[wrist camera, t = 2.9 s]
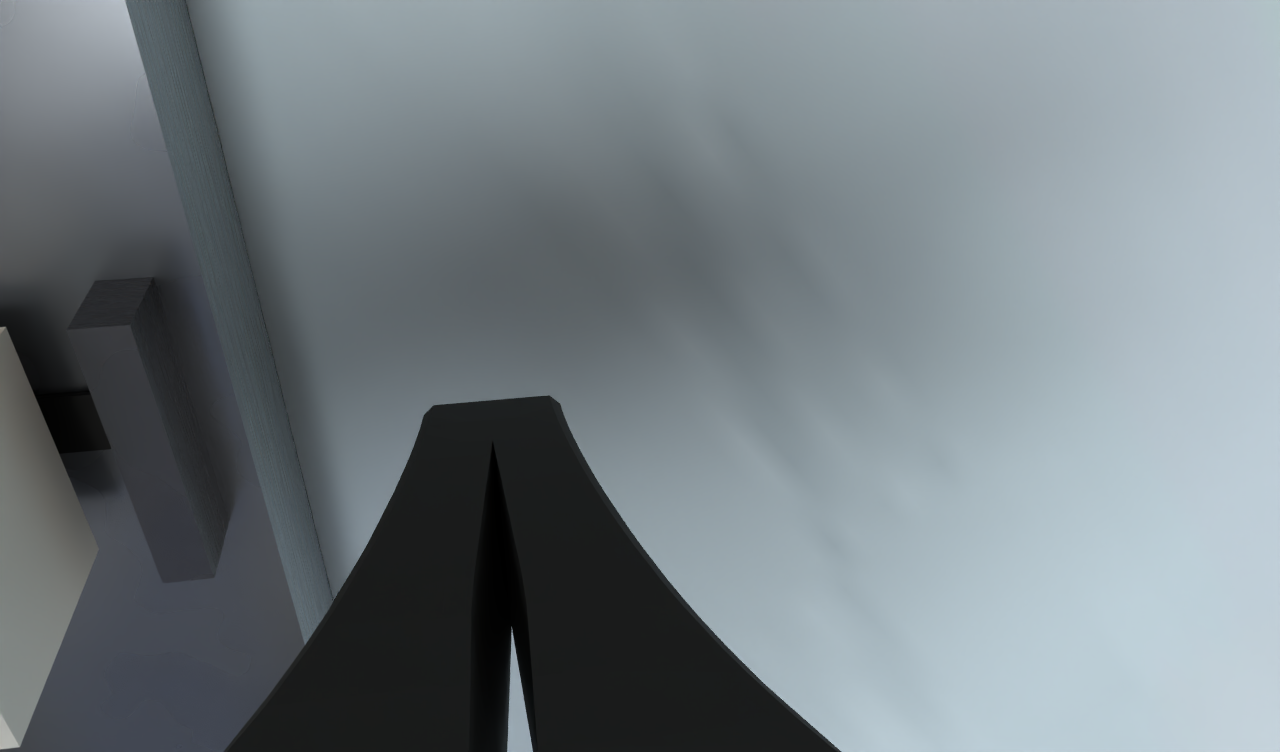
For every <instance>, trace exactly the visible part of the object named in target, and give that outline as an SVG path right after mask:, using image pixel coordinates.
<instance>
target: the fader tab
mask: <svg viewBox="0 0 1280 752" xmlns="http://www.w3.org/2000/svg"><path fill="white" fill-rule="evenodd" d="M98 550H99V548H98V546H97V543H96V541H95V538H94V536H93V534H92V531H91V529H90V527H89V524H88V522H87V519H86V517H85V515H84V512H83V510H82V507H81V505H80V503H79V500H78V498H77V496H76V493H75V491H74V488H73V486H72V484H71V481H70V479H69V476H68V474H67V472H66V469H65V467H64V464H63V462H62V460H61V457H60V455H59V453H58V450H57V448H56V445H55V443H54V441H53V438H52V436H51V433H50V431H49V429H48V426H47V424H46V421H45V419H44V417H43V414H42V412H41V410H40V407H39V405H38V402H37V400H36V398H35V395H34V393H33V390H32V388H31V386H30V383H29V381H28V379H27V376H26V374H25V371H24V369H23V367H22V364H21V362H20V359H19V357H18V355H17V352H16V350H15V347H14V345H13V343H12V340H11V338H10V336H9V333H8V331H7V328H6V327H0V749H8V748H16V747H20V745H21V743H22V740H23V738H24V735H25V733H26V730H27V728H28V725H29V723H30V720H31V718H32V715H33V713H34V710H35V708H36V705H37V703H38V700H39V698H40V695H41V693H42V690H43V688H44V685H45V683H46V680H47V678H48V675H49V673H50V670H51V668H52V665H53V663H54V660H55V658H56V655H57V653H58V650H59V648H60V645H61V643H62V640H63V638H64V635H65V633H66V630H67V628H68V625H69V623H70V620H71V618H72V615H73V613H74V610H75V608H76V605H77V603H78V600H79V598H80V595H81V593H82V590H83V588H84V585H85V583H86V580H87V578H88V575H89V573H90V570H91V568H92V565H93V563H94V560H95V558H96V555H97V553H98Z"/></svg>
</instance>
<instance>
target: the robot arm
mask: <svg viewBox="0 0 1280 752" xmlns="http://www.w3.org/2000/svg"><path fill="white" fill-rule="evenodd" d="M511 629H512V630H513V636H514V642H515V648H516V654H517V660H518V665H519V671H520V677H521V683H522V689H523V695H524V701H525V707H526V712H527V718H528V724H529V730H530V736H531V742H532V748H533V752H841V751H840V750H839V749H838V748H836V747H835V746H834V745H833V744H832V743H831V742H830V741H828V740H827V739H826V738H825V737H824V736H823V735H822V734H820V733H819V732H818V731H817V730H816V729H815V728H814V727H813V726H811V725H810V724H809V723H808V722H807V721H806V720H805V719H803V718H802V717H801V716H800V715H799V714H798V713H797V712H795V711H794V710H793V709H792V708H791V707H790V706H789V705H787V704H786V703H785V702H784V701H783V700H782V699H781V698H780V697H778V696H777V695H776V694H775V693H774V692H773V691H772V690H770V689H769V688H768V687H767V686H766V685H765V684H764V683H763V682H762V681H761V680H760V679H759V678H758V677H757V676H756V675H755V674H754V673H753V672H752V671H751V670H750V669H749V668H748V667H747V666H746V665H745V664H744V663H743V662H742V661H741V660H740V659H739V658H738V657H737V656H736V655H735V654H734V653H733V652H732V651H731V650H730V649H729V648H728V647H727V646H726V645H725V644H724V643H723V642H722V641H721V640H720V639H719V638H718V637H717V636H716V635H715V633H714V632H713V631H712V630H711V629H710V628H709V627H708V626H707V625H706V624H705V623H704V622H703V621H702V619H701V618H700V617H699V616H698V615H697V614H696V613H695V612H694V610H693V609H692V608H691V607H690V606H689V605H688V604H687V602H686V601H685V600H684V599H683V598H682V597H681V595H680V594H679V593H678V592H677V591H676V589H675V588H674V587H673V586H672V585H671V583H670V582H669V581H668V580H667V578H666V577H665V576H664V575H663V573H662V572H661V571H660V569H659V568H658V567H657V566H656V564H655V563H654V562H653V560H652V559H651V558H650V557H649V555H648V554H647V553H646V551H645V550H644V549H643V547H642V546H641V545H640V543H639V542H638V541H637V539H636V538H635V536H634V535H633V534H632V532H631V531H630V529H629V528H628V527H627V525H626V524H625V522H624V521H623V519H622V518H621V516H620V515H619V513H618V512H617V510H616V509H615V507H614V506H613V504H612V503H611V501H610V500H609V498H608V497H607V495H606V494H605V492H604V491H603V489H602V487H601V486H600V484H599V482H598V481H597V479H596V478H595V476H594V474H593V473H592V471H591V469H590V467H589V465H588V464H587V462H586V460H585V458H584V457H583V455H582V453H581V451H580V449H579V447H578V445H577V443H576V441H575V439H574V438H573V435H572V433H571V431H570V429H569V427H568V424H567V422H566V420H565V417H564V415H563V412H562V409H561V405H560V403H558V402H557V401H556V400H555V399H553V398H552V397H551V396H538V397H526V398H514V399H503V400H491V401H479V402H468V403H456V404H444V405H434V406H433V407H432V408H431V409H430V410H429V411H428V412H427V413H426V414H425V415H424V417H423V420H422V424H421V427H420V430H419V433H418V436H417V439H416V442H415V444H414V447H413V450H412V452H411V455H410V457H409V460H408V462H407V464H406V467H405V469H404V471H403V473H402V476H401V478H400V480H399V482H398V484H397V487H396V489H395V491H394V493H393V495H392V497H391V499H390V501H389V503H388V505H387V507H386V509H385V511H384V513H383V515H382V517H381V519H380V521H379V523H378V525H377V527H376V529H375V530H374V532H373V534H372V536H371V538H370V540H369V542H368V544H367V546H366V548H365V549H364V551H363V553H362V555H361V556H360V558H359V560H358V561H357V563H356V565H355V566H354V568H353V570H352V571H351V573H350V575H349V576H348V578H347V580H346V581H345V583H344V585H343V586H342V588H341V590H340V591H339V593H338V595H337V596H336V598H335V600H334V601H333V603H332V605H331V606H330V608H329V610H328V611H327V613H326V614H325V616H324V617H323V619H322V620H321V622H320V623H319V625H318V626H317V628H316V629H315V631H314V632H313V634H312V635H311V637H310V638H309V640H308V641H307V643H306V644H305V646H304V647H303V649H302V650H301V652H300V653H299V654H298V656H297V657H296V659H295V660H294V661H293V663H292V664H291V665H290V667H289V668H288V670H287V671H286V672H285V674H284V675H283V676H282V678H281V679H280V681H279V682H278V683H277V685H276V686H275V687H274V689H273V690H272V691H271V693H270V694H269V695H268V697H267V698H266V699H265V701H264V702H263V703H262V704H261V706H260V707H259V708H258V709H257V710H256V712H255V713H254V714H253V715H252V717H251V718H250V719H249V720H248V722H247V723H246V724H245V725H244V727H243V728H242V729H241V730H240V732H239V733H238V734H237V735H236V737H235V738H234V739H233V740H232V742H231V743H230V744H229V745H228V746H227V748H226V749H225V750H224V751H223V752H507V741H508V714H509V687H510V659H511Z"/></svg>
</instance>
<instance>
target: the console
mask: <svg viewBox="0 0 1280 752" xmlns="http://www.w3.org/2000/svg"><path fill="white" fill-rule="evenodd" d="M0 327H6V328H7V331H8V333H9V336H10V338H11V340H12V343H13V345H14V347H15V350H16V352H17V355H18V357H19V359H20V362H21V364H22V367H23V369H24V371H25V374H26V376H27V379H28V381H29V383H30V386H31V388H32V390H33V393H34V395H35V398H36V400H37V402H38V405H39V407H40V410H41V412H42V414H43V417H44V419H45V421H46V424H47V426H48V429H49V431H50V433H51V436H52V438H53V441H54V443H55V445H56V448H57V450H58V453H59V455H60V457H61V460H62V462H63V464H64V467H65V469H66V472H67V474H68V476H69V479H70V481H71V484H72V486H73V488H74V491H75V493H76V496H77V498H78V500H79V503H80V505H81V507H82V510H83V512H84V515H85V517H86V519H87V522H88V524H89V527H90V529H91V531H92V534H93V536H94V538H95V541H96V543H97V546H98V548H99V550H98V553H97V555H96V558H95V560H94V563H93V565H92V568H91V570H90V573H89V575H88V578H87V580H86V583H85V585H84V588H83V590H82V593H81V595H80V598H79V600H78V603H77V605H76V608H75V610H74V613H73V615H72V618H71V620H70V623H69V625H68V628H67V630H66V633H65V635H64V638H63V640H62V643H61V645H60V648H59V650H58V653H57V655H56V658H55V660H54V663H53V665H52V668H51V670H50V673H49V675H48V678H47V680H46V683H45V685H44V688H43V690H42V693H41V695H40V698H39V700H38V703H37V705H36V708H35V710H34V713H33V715H32V718H31V720H30V723H29V725H28V728H27V730H26V733H25V735H24V738H23V740H22V743H21V745H20V747H16V748H8V749H0V752H223V751H224V750H225V749H226V748H227V746H228V745H229V744H230V743H231V742H232V740H233V739H234V738H235V737H236V735H237V734H238V733H239V732H240V730H241V729H242V728H243V727H244V725H245V724H246V723H247V722H248V720H249V719H250V718H251V717H252V715H253V714H254V713H255V712H256V710H257V709H258V708H259V707H260V706H261V704H262V703H263V702H264V701H265V699H266V698H267V697H268V695H269V694H270V693H271V691H272V690H273V689H274V687H275V686H276V685H277V683H278V682H279V681H280V679H281V678H282V676H283V675H284V674H285V672H286V671H287V670H288V668H289V667H290V665H291V664H292V663H293V661H294V660H295V659H296V657H297V656H298V654H299V653H300V652H301V650H302V649H303V647H304V646H305V644H306V643H307V641H308V640H309V638H310V637H311V635H312V634H313V632H314V631H315V629H316V628H317V626H318V625H319V623H320V622H321V620H322V619H323V617H324V616H325V614H326V613H327V611H328V610H329V608H330V606H331V605H332V603H333V599H332V595H331V591H330V587H329V583H328V579H327V575H326V571H325V567H324V563H323V559H322V555H321V551H320V547H319V543H318V539H317V534H316V530H315V526H314V522H313V518H312V514H311V510H310V506H309V502H308V498H307V494H306V490H305V486H304V482H303V478H302V474H301V470H300V465H299V461H298V457H297V453H296V449H295V445H294V441H293V437H292V433H291V429H290V425H289V421H288V417H287V413H286V409H285V405H284V400H283V396H282V392H281V388H280V384H279V380H278V376H277V372H276V368H275V364H274V360H273V356H272V352H271V348H270V344H269V340H268V335H267V331H266V327H265V323H264V319H263V315H262V311H261V307H260V303H259V299H258V295H257V291H256V287H255V283H254V279H253V275H252V271H251V266H250V262H249V258H248V254H247V250H246V246H245V242H244V238H243V234H242V230H241V226H240V222H239V218H238V214H237V210H236V206H235V201H234V197H233V193H232V189H231V185H230V181H229V177H228V173H227V169H226V165H225V161H224V157H223V153H222V149H221V145H220V141H219V136H218V132H217V128H216V124H215V120H214V116H213V112H212V108H211V104H210V100H209V96H208V92H207V88H206V84H205V80H204V76H203V72H202V67H201V63H200V59H199V55H198V51H197V47H196V43H195V39H194V35H193V31H192V27H191V23H190V19H189V15H188V11H187V7H186V2H185V0H0Z"/></svg>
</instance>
